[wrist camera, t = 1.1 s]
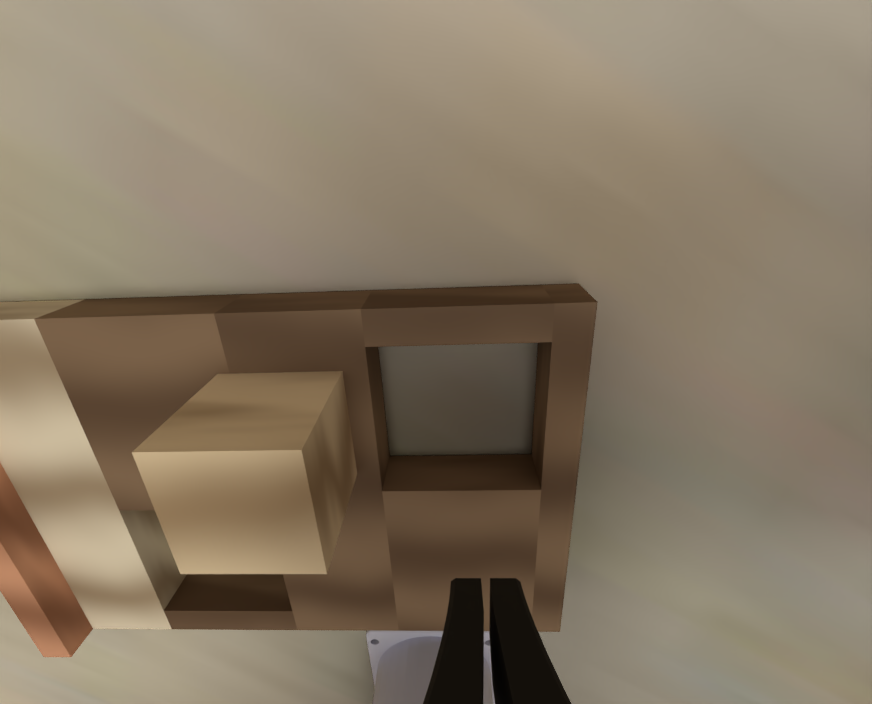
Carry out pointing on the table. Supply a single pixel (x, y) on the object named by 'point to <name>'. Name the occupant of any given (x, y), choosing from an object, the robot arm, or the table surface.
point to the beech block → (253, 474)
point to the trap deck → (376, 470)
